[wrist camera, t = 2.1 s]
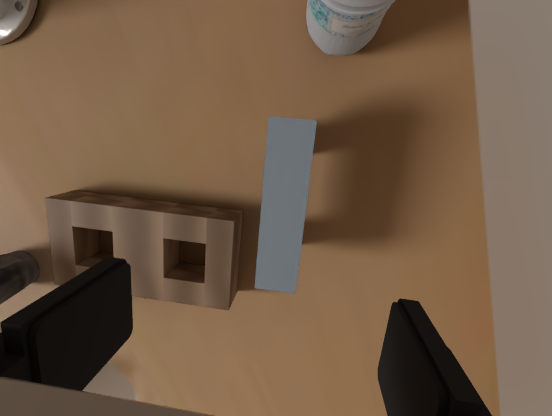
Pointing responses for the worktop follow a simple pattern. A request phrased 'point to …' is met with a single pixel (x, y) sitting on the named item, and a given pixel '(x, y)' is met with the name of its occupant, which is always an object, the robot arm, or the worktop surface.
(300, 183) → the grey block
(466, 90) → the worktop surface
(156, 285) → the brown rectangular block
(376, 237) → the worktop surface
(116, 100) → the worktop surface
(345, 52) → the bottle
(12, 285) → the beverage cup
